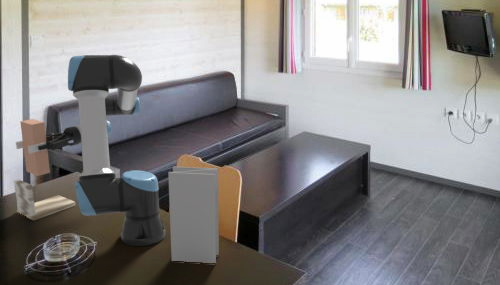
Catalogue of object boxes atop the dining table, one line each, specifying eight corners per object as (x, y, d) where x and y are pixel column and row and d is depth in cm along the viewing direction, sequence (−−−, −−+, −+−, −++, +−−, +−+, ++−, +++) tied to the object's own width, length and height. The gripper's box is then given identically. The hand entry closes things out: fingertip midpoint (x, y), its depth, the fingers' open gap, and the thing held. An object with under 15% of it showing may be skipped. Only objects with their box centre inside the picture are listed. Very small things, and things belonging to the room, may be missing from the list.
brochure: (218, 255, 154) (218, 168, 146) (215, 264, 148) (215, 174, 140) (176, 253, 155) (173, 166, 147) (171, 261, 150) (168, 172, 142)
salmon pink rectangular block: (50, 172, 182) (44, 122, 177) (37, 176, 178) (31, 124, 173) (38, 168, 187) (32, 119, 181) (26, 171, 183) (20, 121, 177)
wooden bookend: (75, 205, 191) (72, 174, 187) (33, 220, 177) (29, 186, 173) (59, 198, 198) (55, 167, 194) (17, 212, 184) (12, 179, 180)
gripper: (92, 148, 188) (39, 162, 171) (62, 139, 200) (9, 151, 183) (91, 130, 186) (36, 143, 169) (61, 122, 198) (7, 133, 181)
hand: (22, 147), depth 176 cm, fingers closed on salmon pink rectangular block, 8 cm apart
